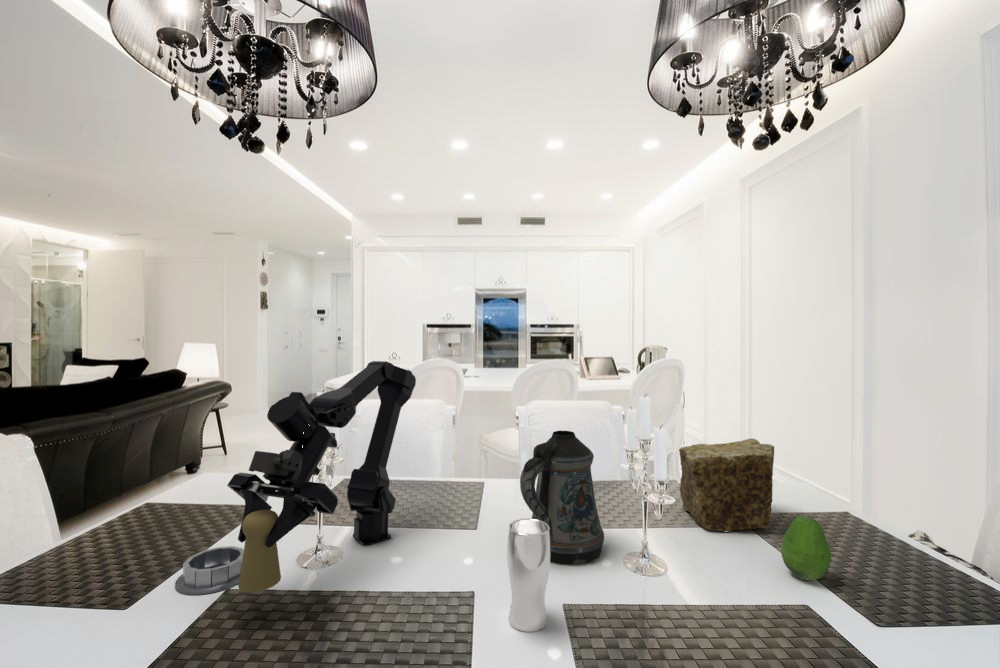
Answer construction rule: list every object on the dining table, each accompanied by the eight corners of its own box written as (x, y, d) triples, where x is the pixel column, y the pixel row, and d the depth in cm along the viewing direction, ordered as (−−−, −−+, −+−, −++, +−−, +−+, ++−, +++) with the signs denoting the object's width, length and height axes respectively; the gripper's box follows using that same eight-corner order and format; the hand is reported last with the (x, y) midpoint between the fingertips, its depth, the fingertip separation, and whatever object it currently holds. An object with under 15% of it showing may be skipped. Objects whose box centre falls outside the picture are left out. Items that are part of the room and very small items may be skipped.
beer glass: (504, 608, 77) (505, 518, 77) (545, 607, 77) (546, 517, 78) (508, 635, 70) (510, 535, 70) (553, 633, 70) (555, 535, 71)
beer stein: (611, 540, 104) (612, 429, 104) (590, 580, 86) (592, 447, 86) (541, 526, 111) (543, 422, 111) (509, 561, 93) (511, 437, 93)
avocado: (818, 593, 83) (818, 526, 83) (773, 574, 90) (773, 512, 90) (838, 581, 87) (838, 518, 88) (794, 564, 94) (794, 505, 94)
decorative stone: (688, 447, 109) (672, 431, 129) (689, 533, 109) (672, 504, 129) (786, 450, 106) (754, 434, 125) (788, 539, 105) (755, 509, 125)
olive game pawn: (244, 596, 69) (245, 523, 69) (233, 581, 73) (234, 512, 73) (286, 582, 73) (287, 512, 73) (273, 568, 77) (274, 502, 78)
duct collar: (243, 555, 94) (244, 538, 94) (258, 579, 85) (259, 560, 85) (171, 574, 86) (172, 555, 86) (179, 603, 77) (180, 582, 77)
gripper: (237, 426, 80) (174, 512, 69) (327, 434, 74) (273, 530, 64) (272, 459, 87) (219, 542, 77) (356, 470, 82) (312, 561, 71)
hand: (253, 543), depth 72 cm, fingers closed on olive game pawn, 5 cm apart
